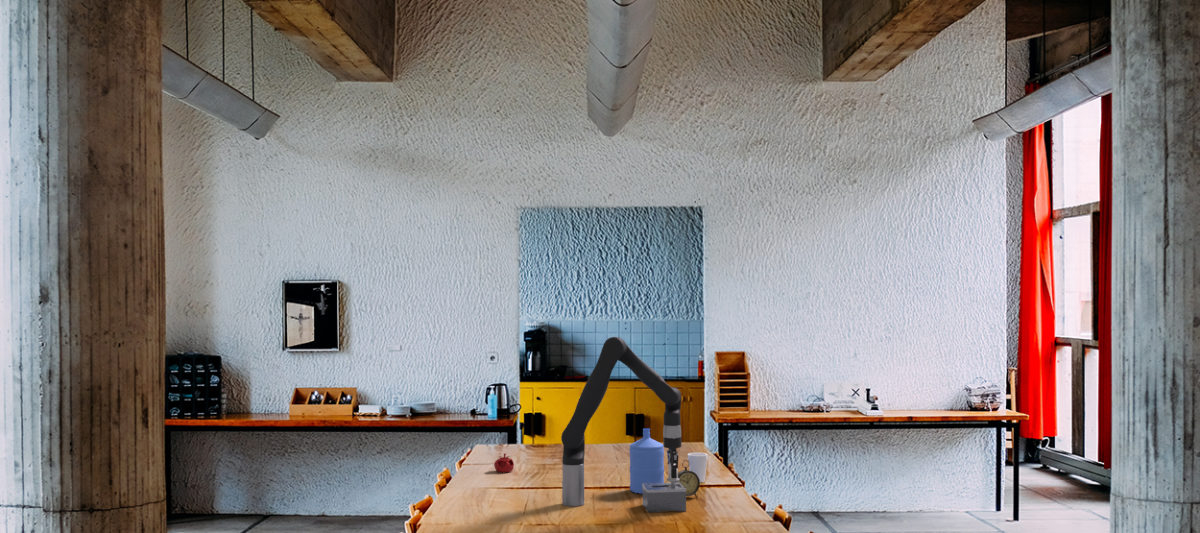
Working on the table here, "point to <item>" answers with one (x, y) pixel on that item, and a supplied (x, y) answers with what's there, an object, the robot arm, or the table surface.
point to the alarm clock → (689, 481)
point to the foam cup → (698, 464)
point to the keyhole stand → (664, 497)
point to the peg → (672, 478)
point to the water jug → (646, 462)
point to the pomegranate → (504, 464)
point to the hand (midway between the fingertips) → (672, 476)
